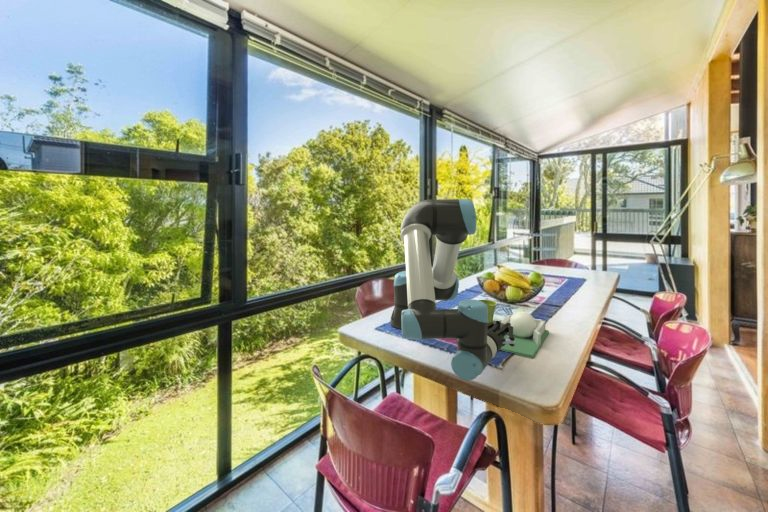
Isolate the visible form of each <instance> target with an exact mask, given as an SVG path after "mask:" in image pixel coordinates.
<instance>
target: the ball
mask: <svg viewBox="0 0 768 512" xmlns="http://www.w3.org/2000/svg"><path fill="white" fill-rule="evenodd" d="M511 315H512V316H511V317H510V318H511V320H510V323H511V326H512V327H513V336H516V337H521V338H526V339H529V338H530V337H531V336H533V332H534V330H535V329H536V322H535V319H536V318H534V316H532V314H530V313H528V312H526V311H517V312H514V313H513V314H511Z"/></svg>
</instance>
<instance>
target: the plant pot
mask: <svg viewBox="0 0 768 512" xmlns="http://www.w3.org/2000/svg"><path fill="white" fill-rule="evenodd" d="M478 300H479V301H482V302H484V303H485V304H486V305H487V307H488V323H491V322H492V323H493V321H494V315H495V311H496V308H497V305H498V302H497V301H495V300H492V299H478Z"/></svg>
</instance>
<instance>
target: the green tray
mask: <svg viewBox="0 0 768 512" xmlns="http://www.w3.org/2000/svg"><path fill="white" fill-rule="evenodd" d="M512 315H513V314H509V313H508V314H507V315H506V316H505V317H504V318H502V320H501V322H502V321H503V320H504V319H505V318H506V317H508V318H510V317H511V316H512ZM534 319H535V322H536V329H535V330H534V332H533V335H532V337H533V338H532V339H531V338H521V337H516V336H515V335H513V336H514V338H515V341H514V346H510V345H509V344H505V346H502V347H501V349H500V350H502V351H507V352H512V353H514V354H513V355H515V354H516V356H521V357H525V358H529V359H534V357H535V356H536V354H537V352H538V351H539V350H540V348H541V346H542V344H543V343H544V341H545V339H546V338H547V336H548V334H549V333H550V332H549V330H548V329H546V320H545V319H540V318H539V319H538V318H534ZM507 337H508V335H505V336H504V338H505V339H506V338H507ZM502 351H501V352H502ZM507 352H506V353H507Z"/></svg>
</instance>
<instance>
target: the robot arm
mask: <svg viewBox="0 0 768 512" xmlns="http://www.w3.org/2000/svg"><path fill="white" fill-rule="evenodd" d="M475 209H476V208H475V205H474V202H473V201H472V200H471V199H468V198H467V199H466V198H455V199H454V198H449V199H442V198H441V199H424V200H421V201H418V202H416V203H415V204H414V205H412V206H411V207H410V208H409V209H408V210H407V211H406V213H405V214H404V216H403V219H402V221H401V224H400V239H401V241H402V242H404V243H403V244H404V245H403V246H404V260H405V270H402V271H399V272H398V273H396V274H395V275H394V278H393V289H394V290H393V292H394V293H393V294H394V298H393V301H394V307H393V310H392V313H391V315H390V325H391V327H393V328H395V329H398V330H401V335H402V337H403V338H404V339H406V340H408V339H409V340H419V341H421V340H431V339H435V340H436V339H441V340H442V339H444V340H445V339H447V340H449V339H451V340H453V339H454V340H456V341H457V342H456V343H457V344H456V345H457V346H456V349H457V350H456V352H455V353H454V354H453V356H452V358H451V360H450V366H451V370H452V371H453V373H454V375H455V376H456V377H458V378H459V379H461V380H463V381H468V382H469V381H473V380H475V379H476V378H477V377H478V376H480V375H481V374H482V373H483V372H484V370H485V369H486V367H488V365H489V364H490V363H491V361H492V359H494V358H495V356H497V355H498V354H499V352H500V351H499V350H500V349H501V347H502V346H505V344H509V345H510V346H514V341H515V338H514V336H515V335H513V327H512V326H511V323H510V320H511V318H508V317H506V316H505V317H506V318H505V317H504V318H505V319H504V318H503V319H504V320H503V319H502V320H503V321H502V320H501V321H502V322H501V321H500V320H496V321H495V324H494V322H493V321H492V322H491V323H488V307H487V305H486V304H485V303H484V302H482V301H479V300H480V299H471V298H469V299H463V300H460V301H459V302H458V304H457V308H440V309H437V303H436V302H437V301H444V302H445V301H446V302H447V301H454V300H455V299H456V298H457V295H458V293H459V287H460V282H459V281H460V280H459V276H458V274H456V272H455V270H456V269H455V268H456V265H457V262H458V257H459V253H460V249H461V245H462V244H463V243H464V242H465V241H466V240H467V239H468V236H471V235H474V234H475V233H476V232H477V214H476V210H475ZM432 236H435V238H436V245H435V251H434V257H433V262H432V258H431V250H430V242H429V240H430V239H431V237H432ZM505 335H508V337H507V338H506V339H505V338H504V336H505Z"/></svg>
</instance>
